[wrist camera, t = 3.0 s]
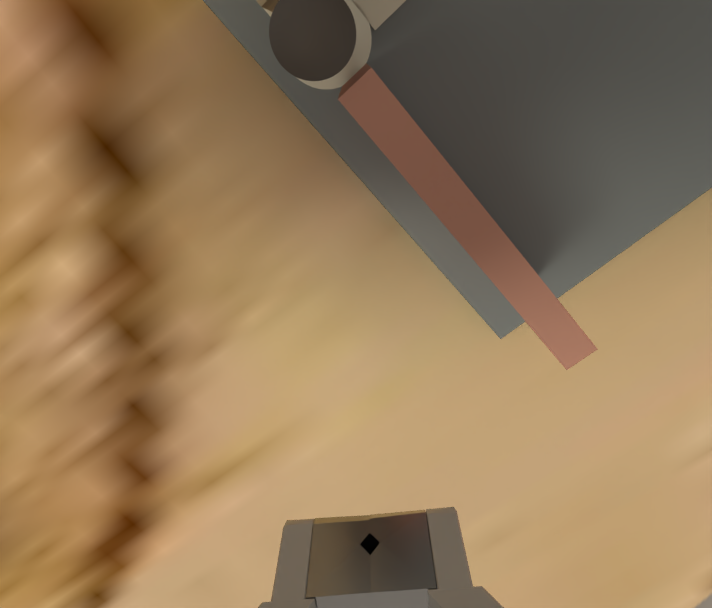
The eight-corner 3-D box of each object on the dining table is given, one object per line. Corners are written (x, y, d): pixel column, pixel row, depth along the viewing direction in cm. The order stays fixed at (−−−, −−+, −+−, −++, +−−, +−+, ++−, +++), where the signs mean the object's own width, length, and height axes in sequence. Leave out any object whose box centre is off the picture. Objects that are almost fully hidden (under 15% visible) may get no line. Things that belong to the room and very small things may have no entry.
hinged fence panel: (341, 86, 17) (337, 98, 13) (366, 63, 17) (371, 67, 12) (518, 297, 20) (566, 370, 16) (541, 280, 20) (597, 348, 15)
